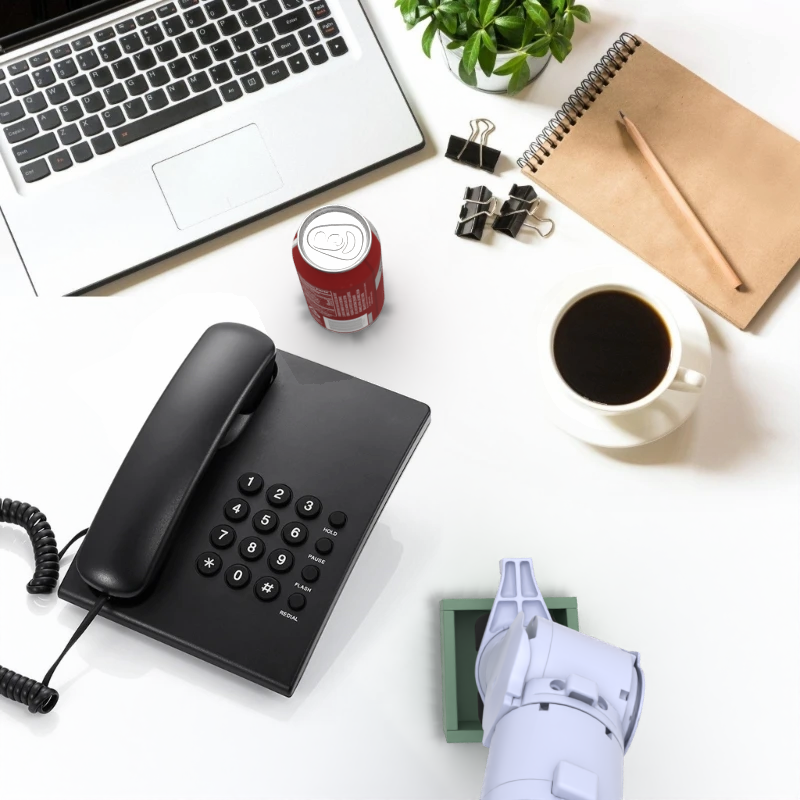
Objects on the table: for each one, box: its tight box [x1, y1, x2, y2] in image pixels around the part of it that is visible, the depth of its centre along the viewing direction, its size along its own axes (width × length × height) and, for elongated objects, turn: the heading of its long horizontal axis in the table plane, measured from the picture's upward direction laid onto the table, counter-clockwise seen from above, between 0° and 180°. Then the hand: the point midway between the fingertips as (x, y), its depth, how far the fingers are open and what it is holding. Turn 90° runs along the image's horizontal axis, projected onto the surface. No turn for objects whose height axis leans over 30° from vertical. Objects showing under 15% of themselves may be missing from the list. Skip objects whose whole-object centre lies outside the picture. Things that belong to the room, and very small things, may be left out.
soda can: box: [291, 203, 386, 335], centre depth 65 cm, size 7×7×12 cm
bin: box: [439, 596, 580, 744], centre depth 59 cm, size 10×10×6 cm
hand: (506, 665), depth 60 cm, fingers closed on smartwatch, 2 cm apart
